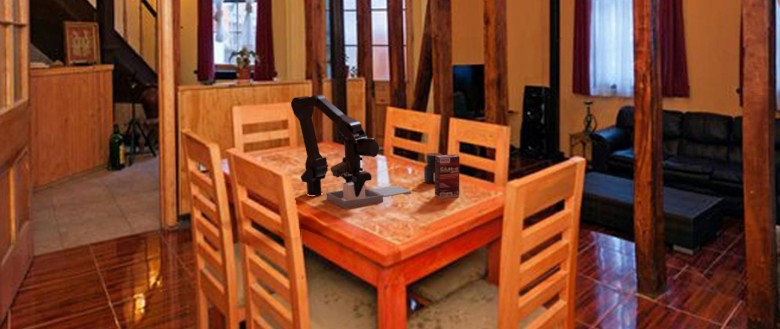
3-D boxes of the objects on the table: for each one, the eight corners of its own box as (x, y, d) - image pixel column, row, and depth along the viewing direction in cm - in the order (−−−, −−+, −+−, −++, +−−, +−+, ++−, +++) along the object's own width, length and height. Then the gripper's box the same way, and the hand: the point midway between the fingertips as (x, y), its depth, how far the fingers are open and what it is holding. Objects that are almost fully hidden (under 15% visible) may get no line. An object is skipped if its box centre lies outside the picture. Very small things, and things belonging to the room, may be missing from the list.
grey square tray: (326, 200, 212) (326, 192, 212) (363, 194, 220) (363, 186, 219) (344, 210, 199) (343, 202, 198) (383, 203, 206) (382, 195, 206)
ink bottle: (439, 185, 230) (438, 157, 228) (420, 183, 235) (419, 155, 232) (448, 180, 238) (448, 153, 236) (430, 178, 243) (430, 151, 240)
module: (343, 198, 209) (342, 183, 208) (360, 195, 213) (359, 180, 212) (348, 201, 206) (347, 185, 204) (365, 198, 209) (364, 183, 208)
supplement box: (439, 198, 210) (438, 158, 207) (434, 195, 214) (434, 155, 211) (460, 196, 212) (460, 156, 209) (455, 193, 217) (455, 153, 213)
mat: (370, 191, 224) (370, 189, 224) (396, 187, 229) (395, 185, 229) (384, 197, 213) (384, 195, 213) (411, 193, 219) (411, 191, 219)
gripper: (322, 153, 210) (324, 193, 213) (343, 161, 194) (345, 204, 197) (349, 150, 215) (350, 188, 218) (371, 157, 199) (373, 199, 202)
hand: (354, 195), depth 209 cm, fingers closed on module, 4 cm apart
